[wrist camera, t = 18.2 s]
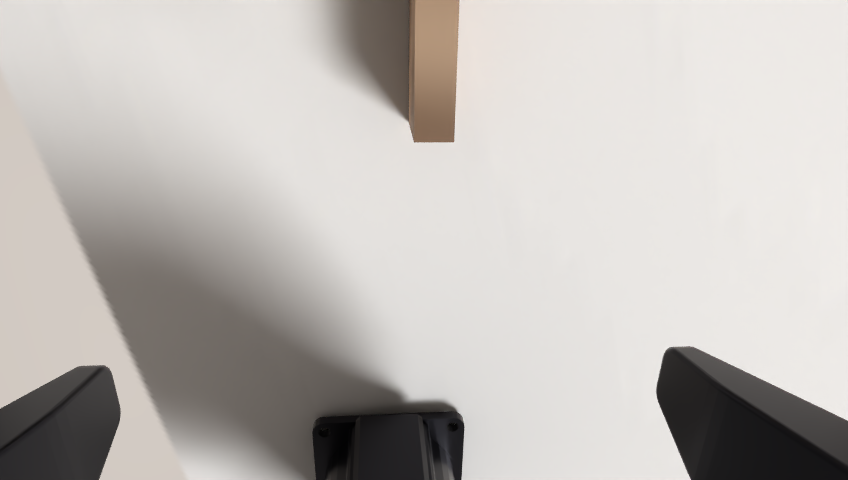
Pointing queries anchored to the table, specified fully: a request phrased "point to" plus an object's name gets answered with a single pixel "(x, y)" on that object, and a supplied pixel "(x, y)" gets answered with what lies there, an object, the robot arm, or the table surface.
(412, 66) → the walnut stall
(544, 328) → the table surface
